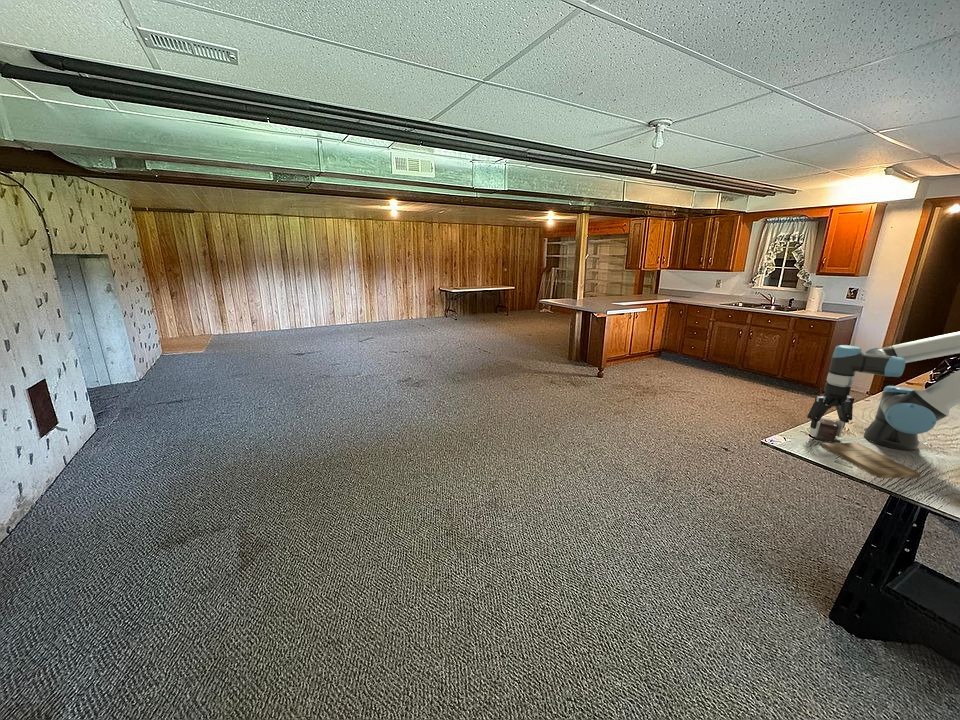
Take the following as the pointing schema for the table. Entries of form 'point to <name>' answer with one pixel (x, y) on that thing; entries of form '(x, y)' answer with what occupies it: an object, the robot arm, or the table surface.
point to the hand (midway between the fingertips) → (824, 435)
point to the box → (827, 430)
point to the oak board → (871, 460)
